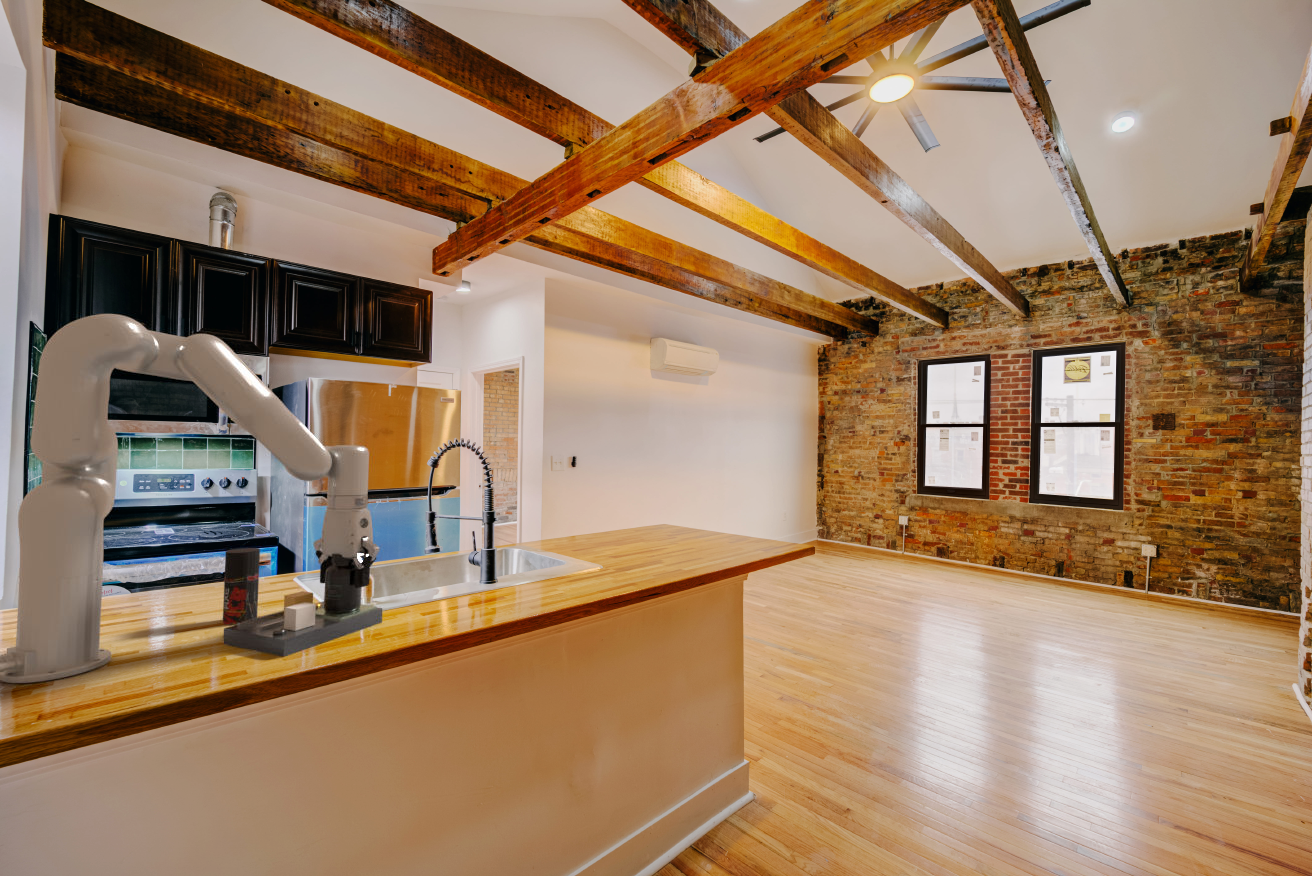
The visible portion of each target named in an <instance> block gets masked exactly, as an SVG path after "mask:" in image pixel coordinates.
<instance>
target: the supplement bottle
mask: <svg viewBox="0 0 1312 876" xmlns="http://www.w3.org/2000/svg"><path fill="white" fill-rule="evenodd" d="M331 562H333V564H332V565H331V566H329V567H328V568H327V569H326V573H325V583H324V595H323V601H324V611H325V612H327V613H332V614H340V613H348V612H353V611H356V610H358V609H359V608H360V606H361V604H362V588H363V587H361V588H355V586H354V585H355V569H357V568H358V567H357V565H356V563H355V561H354V560H353V559H348V558H344V557H343V556H342V555H341V554H334V553H333V554H332V560H331Z"/></svg>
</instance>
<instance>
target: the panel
mask: <svg viewBox="0 0 1312 876" xmlns="http://www.w3.org/2000/svg"><path fill="white" fill-rule="evenodd" d="M313 604H316V610H315V625H313V626H309V627H306V628H303V629H300V630H297V631H293V630H288V629H284V617H285V616H284V609H283V610H280V611H277V612H272V613H269V614H265V615H261V616H257V618H253V619H249V620H246V621H242V622H238V624H237V625H230V626H228V627H224V628H223V640H222V641H223V643H222V644H223V645H224V646H229V647H235V648H240V649H244V650H250V651H254V652H259V653H262V654H263V653H264V654H268V655H273V656H274V655H275V656H279V657H283V658H284V657H287V656H290V655H293V654H296V653H298V652H301V651H304V650H307V649H310V648H312V647H315V646H318V645H321V644H324V643H327V642H330V641H333V640H335V639H338V638H341V637H344V636H347V635H350V634H352V633H356V632H359V631H361V630H365V629H367V628H370V627H373V626H375V625H378V624H381V623H383V607H378V606H376V605H369V604H363V603H361V606H360V608H359V609H358V610H356V611H353V612H348V613H340V614H332V613H327V612H325V611H324V600H323V601H320V602H313Z"/></svg>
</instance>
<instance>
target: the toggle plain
mask: <svg viewBox="0 0 1312 876" xmlns="http://www.w3.org/2000/svg"><path fill="white" fill-rule="evenodd" d="M315 610H316V604H312V603H305V602H304V603H300V604H296V605H293V606H289V607H285V617H284V629H288V630H293V631H297V630H300V629H303V628H306V627H309V626H313V625H315Z"/></svg>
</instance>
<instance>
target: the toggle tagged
mask: <svg viewBox="0 0 1312 876" xmlns="http://www.w3.org/2000/svg"><path fill="white" fill-rule="evenodd" d="M283 600H284V602H283V610H284V616H285V607H289V606H293V605H296V604H300V603H304V602H305V603H312V604H313V603H314V592H311V591H299V592H295V593H291V594H286V595H284V597H283Z"/></svg>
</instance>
